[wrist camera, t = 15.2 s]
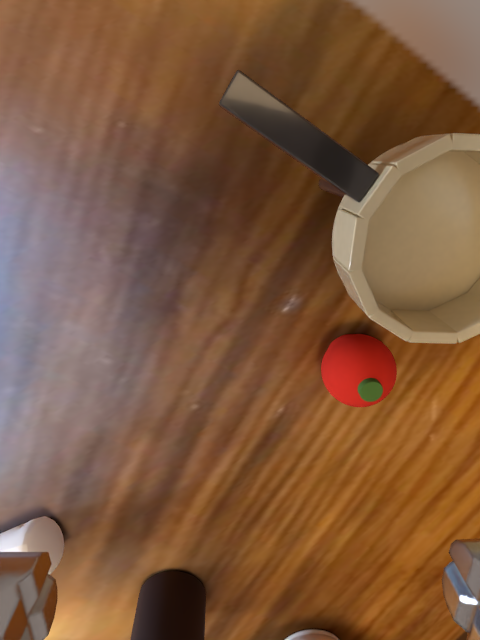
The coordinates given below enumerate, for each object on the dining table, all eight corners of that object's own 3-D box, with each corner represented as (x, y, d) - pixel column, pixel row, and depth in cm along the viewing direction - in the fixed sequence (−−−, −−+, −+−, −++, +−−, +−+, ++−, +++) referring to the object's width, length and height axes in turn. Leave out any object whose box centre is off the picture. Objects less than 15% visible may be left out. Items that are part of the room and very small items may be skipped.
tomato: (317, 322, 33) (336, 356, 27) (386, 323, 33) (418, 356, 27) (311, 383, 35) (328, 425, 29) (376, 383, 35) (403, 425, 29)
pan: (454, 190, 29) (605, 214, 18) (373, 294, 32) (459, 375, 20) (264, 45, 26) (298, -45, 14) (191, 176, 28) (168, 191, 17)
